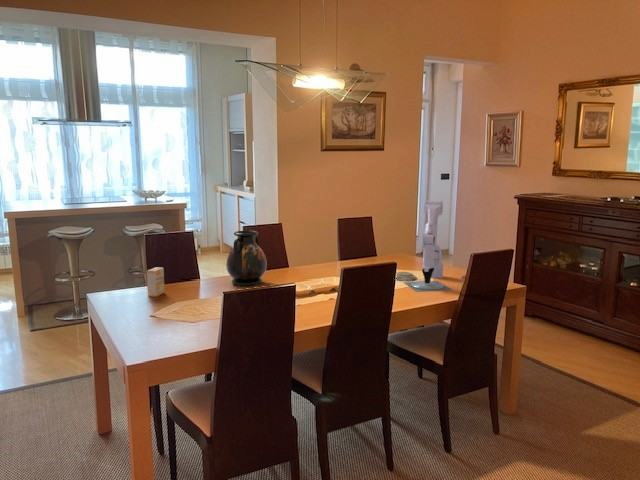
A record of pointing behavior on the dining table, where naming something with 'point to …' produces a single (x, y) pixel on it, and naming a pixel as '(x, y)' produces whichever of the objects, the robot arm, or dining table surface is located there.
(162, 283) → the supplement box
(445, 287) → the mat
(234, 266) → the amphora vase
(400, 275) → the decorative bowl
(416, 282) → the lid
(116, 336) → the dining table surface
